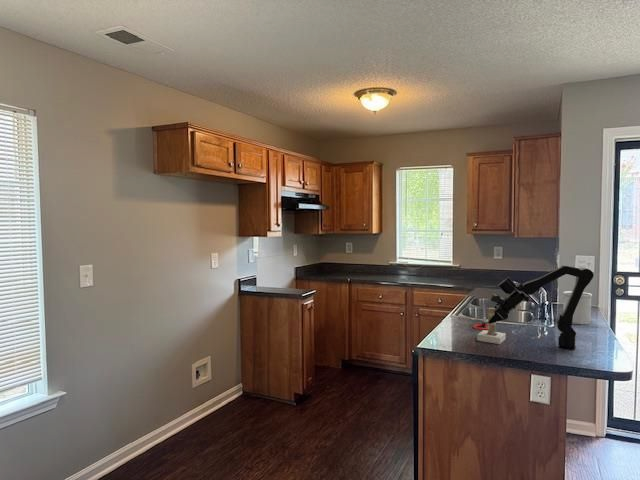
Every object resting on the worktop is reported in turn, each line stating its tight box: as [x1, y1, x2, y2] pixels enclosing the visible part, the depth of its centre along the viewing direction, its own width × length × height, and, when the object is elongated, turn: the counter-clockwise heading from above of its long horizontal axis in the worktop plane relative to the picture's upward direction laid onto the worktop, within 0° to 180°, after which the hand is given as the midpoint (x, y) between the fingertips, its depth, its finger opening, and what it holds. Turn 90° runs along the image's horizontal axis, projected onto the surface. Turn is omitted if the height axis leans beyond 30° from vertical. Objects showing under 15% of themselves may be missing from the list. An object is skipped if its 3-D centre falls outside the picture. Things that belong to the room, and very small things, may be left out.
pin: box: [487, 307, 497, 336], centre depth 220 cm, size 4×4×16 cm
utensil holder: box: [562, 290, 593, 325], centre depth 259 cm, size 15×15×18 cm
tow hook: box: [472, 304, 488, 331], centre depth 244 cm, size 8×13×9 cm
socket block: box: [476, 330, 507, 345], centre depth 220 cm, size 11×11×3 cm
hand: (488, 320), depth 220 cm, fingers open, 9 cm apart
